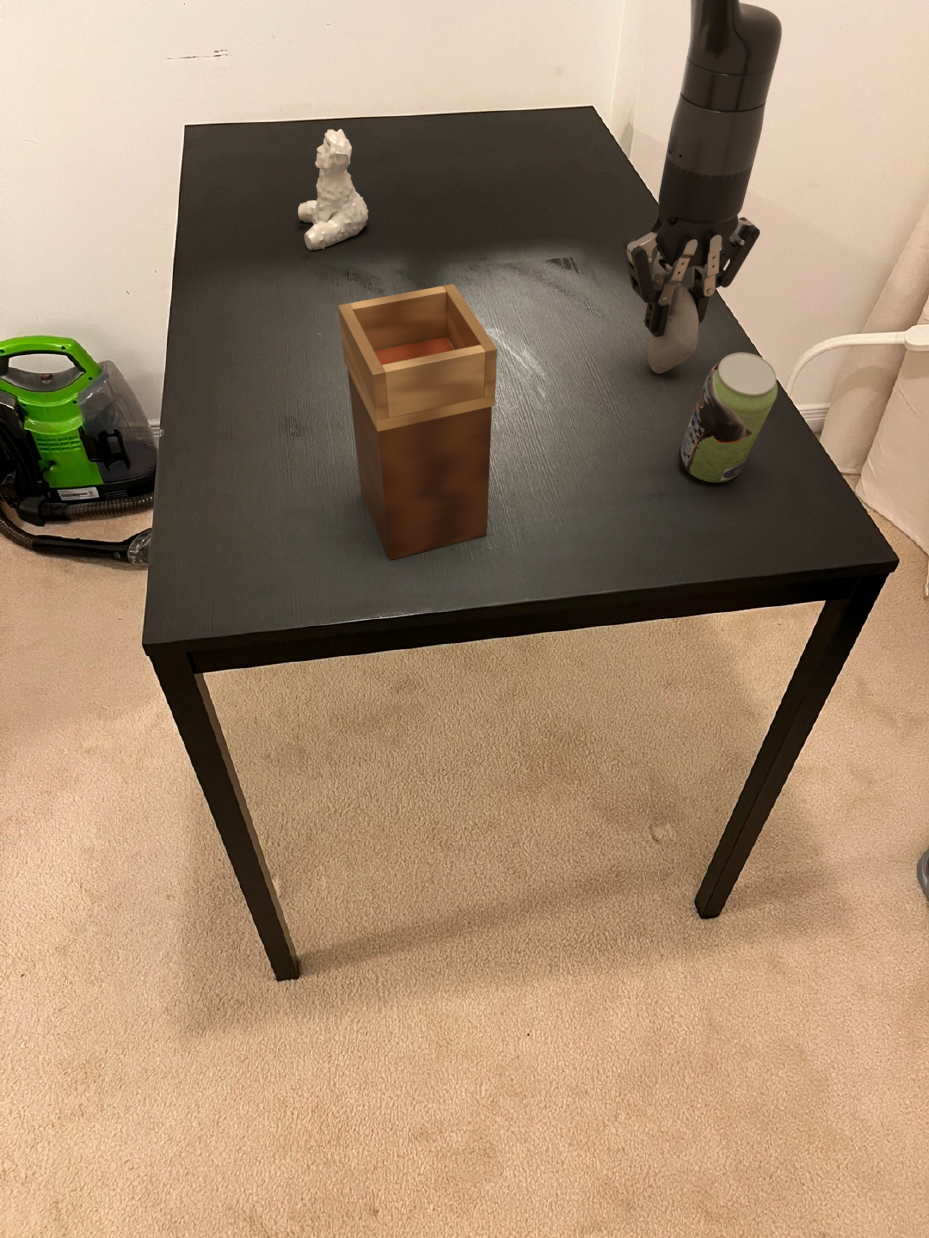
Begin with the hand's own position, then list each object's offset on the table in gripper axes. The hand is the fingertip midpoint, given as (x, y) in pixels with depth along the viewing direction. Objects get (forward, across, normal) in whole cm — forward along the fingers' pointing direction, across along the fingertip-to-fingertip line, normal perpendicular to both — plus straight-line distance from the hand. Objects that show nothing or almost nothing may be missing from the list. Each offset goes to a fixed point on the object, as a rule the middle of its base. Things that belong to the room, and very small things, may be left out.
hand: (672, 328), depth 89 cm
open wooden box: (-9, -31, -12) cm, 34 cm away
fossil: (+5, 0, 0) cm, 5 cm away
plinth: (+5, -31, -12) cm, 34 cm away
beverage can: (+5, -3, -16) cm, 17 cm away
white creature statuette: (+5, -25, +41) cm, 48 cm away
